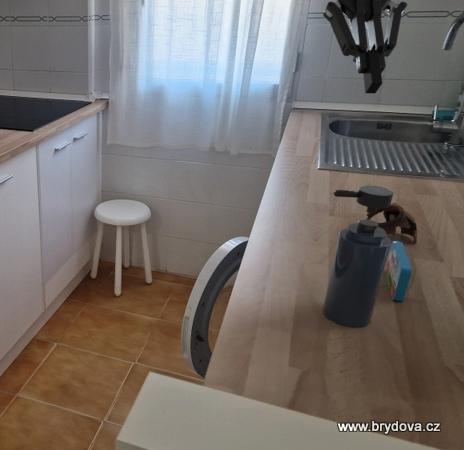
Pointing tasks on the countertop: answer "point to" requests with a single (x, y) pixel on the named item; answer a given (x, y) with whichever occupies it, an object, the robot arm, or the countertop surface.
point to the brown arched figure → (396, 221)
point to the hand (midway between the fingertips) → (373, 88)
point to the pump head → (369, 197)
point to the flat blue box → (398, 271)
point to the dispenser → (356, 274)
